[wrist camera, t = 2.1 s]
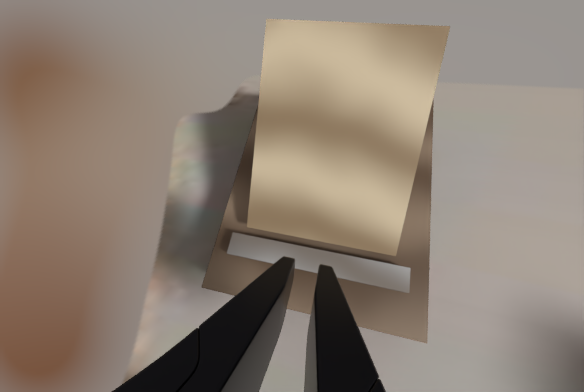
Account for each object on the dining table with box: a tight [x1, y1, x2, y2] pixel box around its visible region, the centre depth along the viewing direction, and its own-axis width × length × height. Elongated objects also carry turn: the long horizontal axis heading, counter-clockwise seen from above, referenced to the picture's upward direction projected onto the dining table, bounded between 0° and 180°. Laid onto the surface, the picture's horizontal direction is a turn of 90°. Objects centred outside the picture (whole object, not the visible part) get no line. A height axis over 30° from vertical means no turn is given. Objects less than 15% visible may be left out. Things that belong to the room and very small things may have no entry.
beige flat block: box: [202, 101, 433, 343], centre depth 20 cm, size 20×15×6 cm
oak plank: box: [247, 19, 450, 256], centre depth 15 cm, size 13×10×1 cm
